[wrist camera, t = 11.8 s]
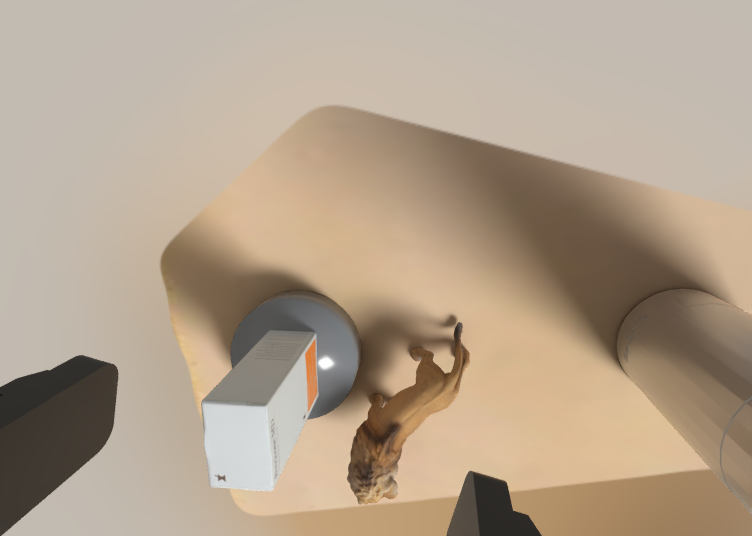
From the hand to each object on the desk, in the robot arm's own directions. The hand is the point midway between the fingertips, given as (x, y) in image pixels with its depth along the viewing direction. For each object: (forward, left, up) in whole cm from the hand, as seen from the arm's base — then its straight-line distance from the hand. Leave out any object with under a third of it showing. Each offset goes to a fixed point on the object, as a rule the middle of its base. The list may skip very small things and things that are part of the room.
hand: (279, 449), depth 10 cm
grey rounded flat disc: (+5, +12, -29) cm, 32 cm away
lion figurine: (-5, +13, -29) cm, 33 cm away
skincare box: (+5, +12, -26) cm, 29 cm away
